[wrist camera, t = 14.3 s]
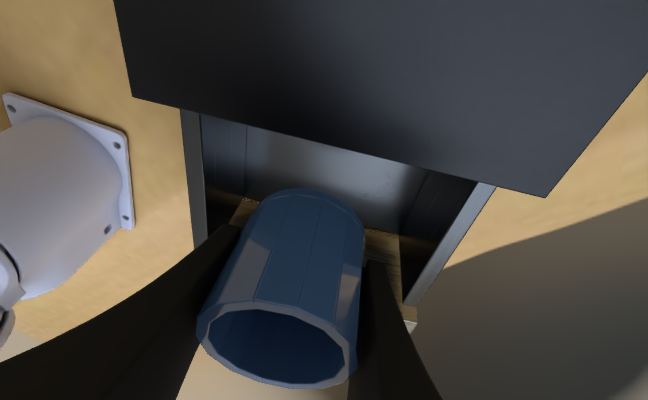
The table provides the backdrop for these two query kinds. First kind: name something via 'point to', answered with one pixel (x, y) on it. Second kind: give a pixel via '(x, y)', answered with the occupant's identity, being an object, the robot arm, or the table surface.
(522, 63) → the black drawer unit
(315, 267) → the cup
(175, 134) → the table surface
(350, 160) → the dish drawer
